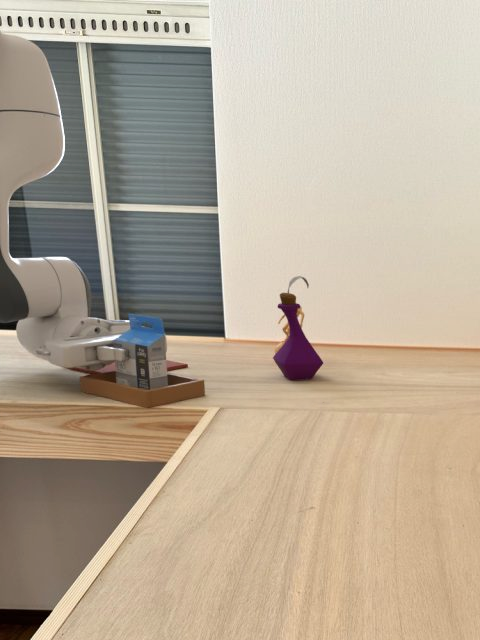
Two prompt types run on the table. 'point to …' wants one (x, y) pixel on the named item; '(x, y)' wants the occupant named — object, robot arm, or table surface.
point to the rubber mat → (170, 366)
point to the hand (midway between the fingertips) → (139, 353)
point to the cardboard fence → (173, 392)
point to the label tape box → (142, 354)
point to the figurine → (288, 328)
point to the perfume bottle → (296, 343)
